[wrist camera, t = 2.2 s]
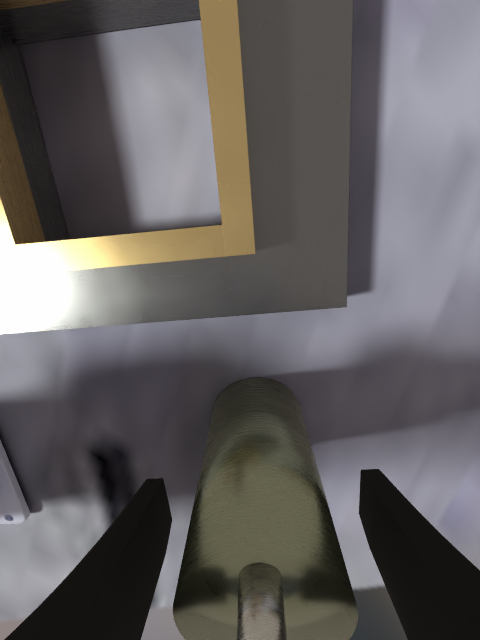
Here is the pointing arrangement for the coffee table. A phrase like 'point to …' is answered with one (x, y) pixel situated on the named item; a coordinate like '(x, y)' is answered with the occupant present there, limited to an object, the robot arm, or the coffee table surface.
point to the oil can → (261, 529)
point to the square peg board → (231, 165)
